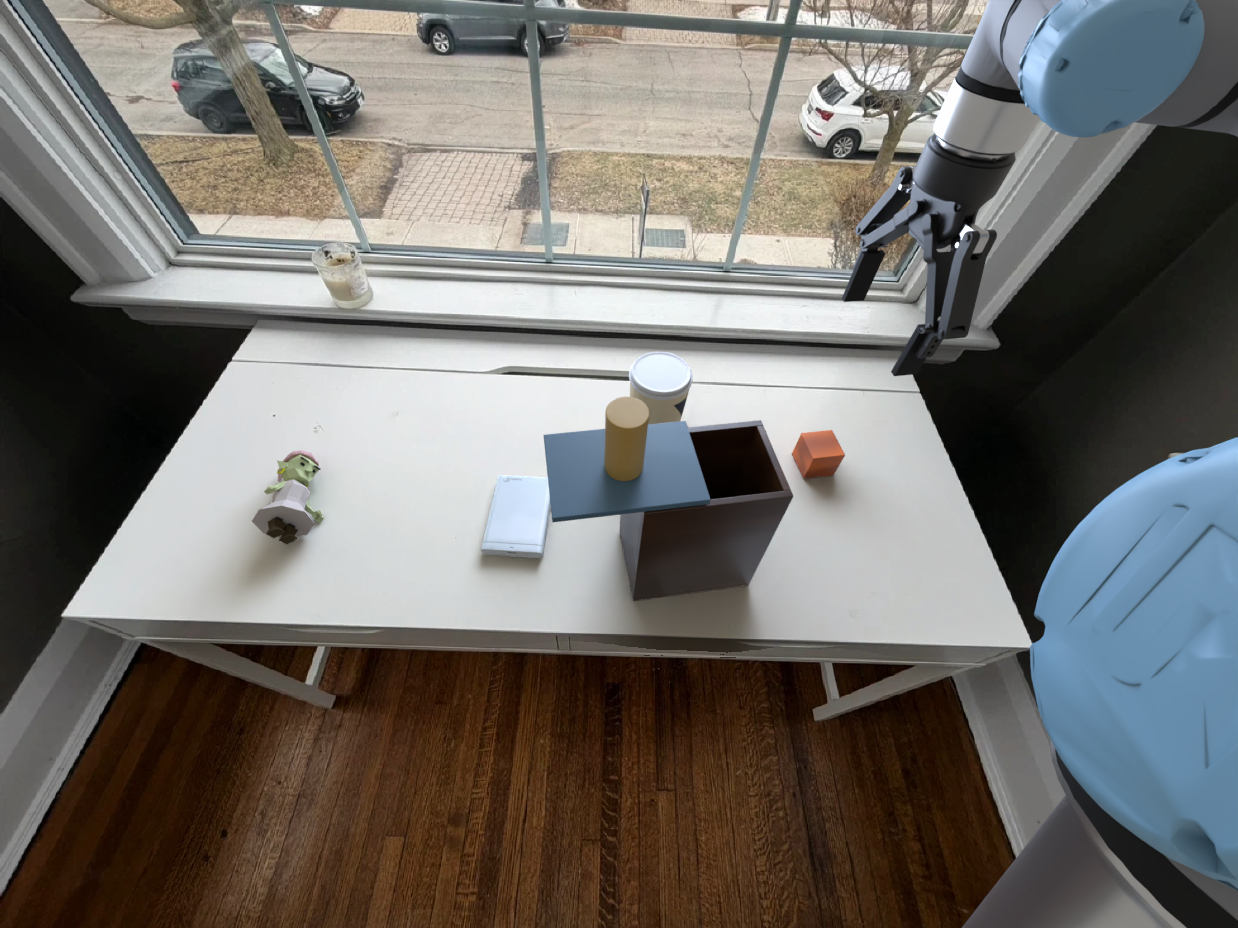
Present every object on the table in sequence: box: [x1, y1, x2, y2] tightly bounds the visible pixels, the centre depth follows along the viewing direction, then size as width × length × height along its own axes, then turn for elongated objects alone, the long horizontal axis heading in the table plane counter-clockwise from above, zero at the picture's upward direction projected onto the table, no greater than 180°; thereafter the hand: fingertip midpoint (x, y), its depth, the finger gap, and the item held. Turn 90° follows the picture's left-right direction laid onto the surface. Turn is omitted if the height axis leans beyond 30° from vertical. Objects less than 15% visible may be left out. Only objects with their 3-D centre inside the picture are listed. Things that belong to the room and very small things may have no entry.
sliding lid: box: [543, 396, 711, 523], centre depth 53 cm, size 11×16×9 cm
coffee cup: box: [628, 351, 693, 424], centre depth 84 cm, size 9×9×12 cm
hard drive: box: [480, 474, 551, 559], centre depth 77 cm, size 2×8×12 cm
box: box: [619, 419, 794, 602], centre depth 66 cm, size 11×16×21 cm
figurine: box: [251, 449, 325, 545], centre depth 75 cm, size 9×7×15 cm
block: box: [791, 429, 846, 480], centre depth 83 cm, size 5×5×5 cm
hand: (876, 334), depth 65 cm, fingers open, 13 cm apart
